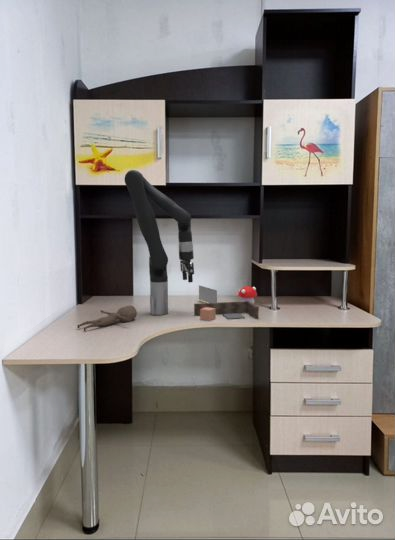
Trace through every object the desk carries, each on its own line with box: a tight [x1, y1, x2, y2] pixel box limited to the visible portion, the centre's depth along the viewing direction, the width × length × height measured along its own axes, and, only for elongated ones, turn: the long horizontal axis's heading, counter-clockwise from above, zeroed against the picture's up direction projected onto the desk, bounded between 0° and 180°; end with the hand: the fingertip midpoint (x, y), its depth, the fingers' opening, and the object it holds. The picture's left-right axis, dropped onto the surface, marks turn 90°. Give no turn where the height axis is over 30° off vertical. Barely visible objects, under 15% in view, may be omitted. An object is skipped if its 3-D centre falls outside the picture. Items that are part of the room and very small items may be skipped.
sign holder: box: [197, 285, 218, 303], centre depth 244 cm, size 21×2×10 cm, turn 29°
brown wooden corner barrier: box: [193, 300, 260, 320], centre depth 214 cm, size 30×15×6 cm, turn 102°
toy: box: [77, 305, 138, 332], centre depth 201 cm, size 26×8×30 cm
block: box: [199, 307, 216, 322], centre depth 209 cm, size 6×6×6 cm
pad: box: [222, 313, 246, 320], centre depth 214 cm, size 9×9×1 cm
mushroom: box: [237, 285, 258, 304], centre depth 236 cm, size 11×11×12 cm
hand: (187, 281), depth 221 cm, fingers open, 8 cm apart
